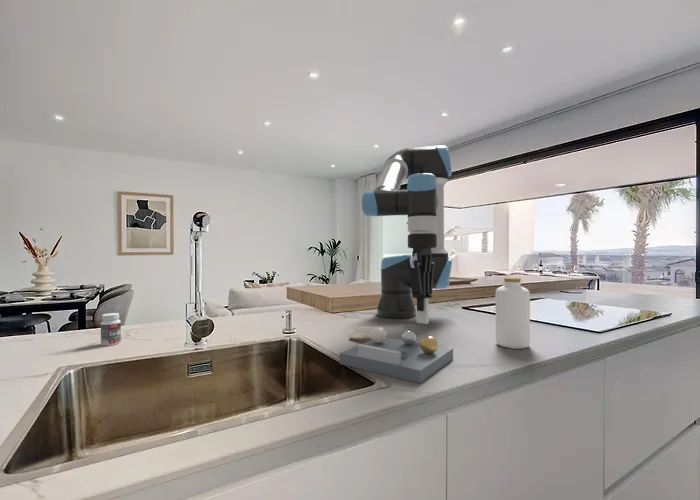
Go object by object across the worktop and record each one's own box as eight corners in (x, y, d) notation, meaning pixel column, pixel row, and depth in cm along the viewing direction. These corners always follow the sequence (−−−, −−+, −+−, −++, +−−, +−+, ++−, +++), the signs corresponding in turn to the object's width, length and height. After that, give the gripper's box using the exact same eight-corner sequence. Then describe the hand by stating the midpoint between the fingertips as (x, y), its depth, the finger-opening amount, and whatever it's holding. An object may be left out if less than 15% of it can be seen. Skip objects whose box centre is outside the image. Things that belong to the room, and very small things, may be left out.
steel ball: (405, 342, 90) (405, 328, 90) (418, 344, 88) (418, 330, 88) (399, 345, 87) (399, 331, 87) (412, 347, 85) (412, 333, 85)
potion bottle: (522, 341, 99) (522, 276, 98) (535, 350, 90) (535, 279, 90) (491, 341, 99) (491, 276, 99) (501, 349, 91) (501, 279, 91)
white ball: (375, 340, 92) (375, 324, 92) (389, 342, 90) (389, 326, 90) (367, 343, 89) (367, 327, 89) (381, 346, 86) (380, 329, 86)
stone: (385, 347, 96) (385, 338, 96) (346, 346, 97) (346, 336, 97) (387, 333, 111) (387, 325, 110) (353, 332, 112) (353, 324, 112)
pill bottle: (111, 346, 98) (110, 316, 98) (96, 345, 99) (96, 315, 99) (125, 341, 102) (124, 312, 102) (111, 341, 103) (110, 312, 103)
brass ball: (424, 350, 83) (424, 333, 83) (440, 353, 81) (440, 335, 81) (417, 354, 80) (416, 336, 80) (433, 357, 77) (433, 339, 77)
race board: (380, 345, 96) (380, 327, 96) (453, 359, 84) (452, 338, 84) (339, 363, 81) (339, 342, 81) (420, 383, 70) (420, 357, 69)
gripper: (419, 234, 101) (420, 317, 101) (397, 232, 91) (398, 325, 91) (445, 233, 97) (445, 320, 97) (425, 231, 86) (425, 329, 86)
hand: (422, 322), depth 94 cm, fingers closed
